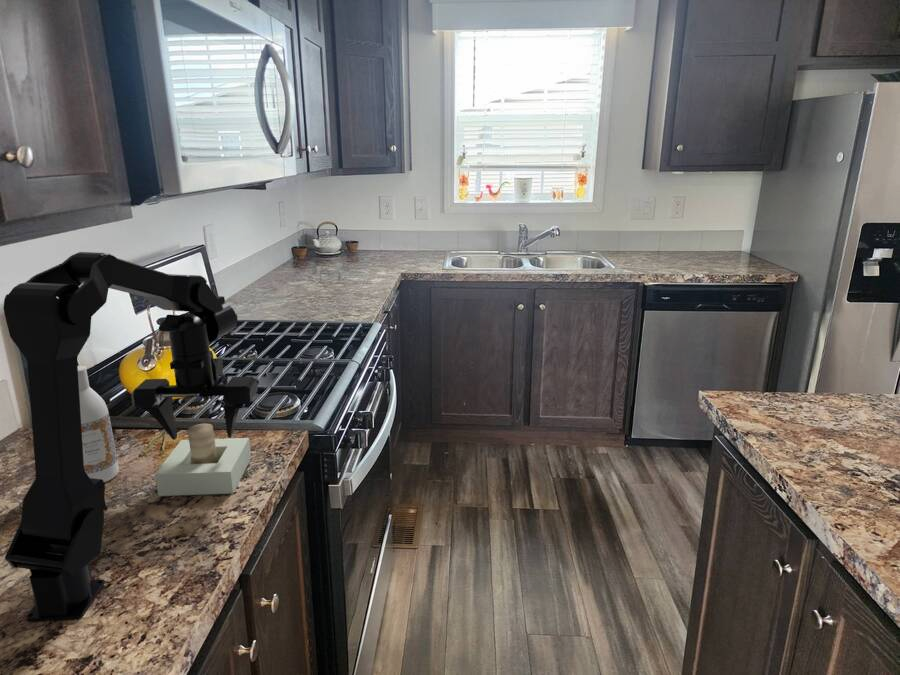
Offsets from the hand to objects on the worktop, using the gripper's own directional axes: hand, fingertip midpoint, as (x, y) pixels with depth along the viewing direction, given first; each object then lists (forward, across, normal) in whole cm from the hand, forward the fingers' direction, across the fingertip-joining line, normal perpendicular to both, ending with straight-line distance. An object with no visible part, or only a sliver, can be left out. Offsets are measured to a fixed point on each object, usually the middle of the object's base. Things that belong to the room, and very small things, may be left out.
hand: (202, 437), depth 103 cm
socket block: (+7, 0, 0) cm, 7 cm away
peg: (+7, 0, 0) cm, 7 cm away
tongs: (+8, +14, -14) cm, 21 cm away
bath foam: (+8, +19, -1) cm, 20 cm away
